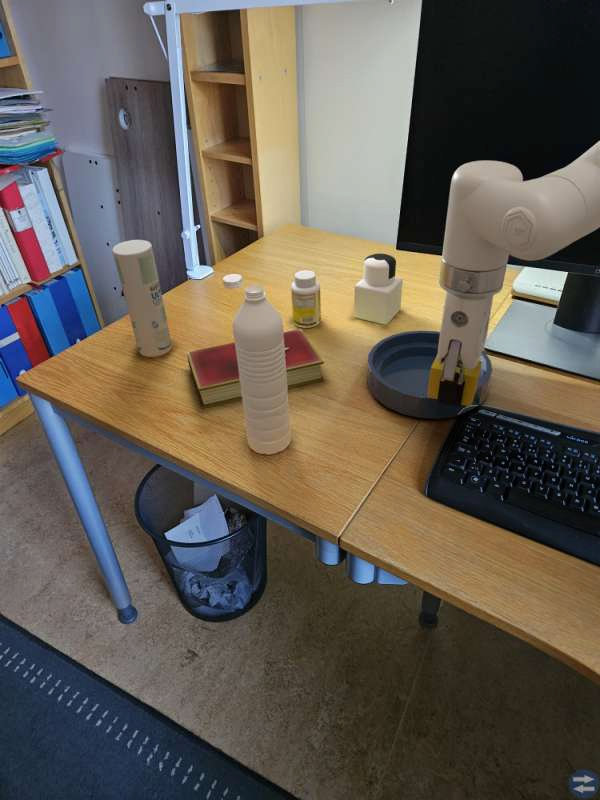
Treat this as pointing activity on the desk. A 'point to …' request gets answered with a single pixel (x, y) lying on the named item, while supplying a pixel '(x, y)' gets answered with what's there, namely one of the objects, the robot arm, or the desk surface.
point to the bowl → (414, 375)
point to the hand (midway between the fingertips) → (453, 392)
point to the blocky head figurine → (378, 290)
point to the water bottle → (261, 369)
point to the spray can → (143, 296)
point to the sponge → (469, 378)
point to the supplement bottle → (306, 299)
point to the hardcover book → (221, 374)
